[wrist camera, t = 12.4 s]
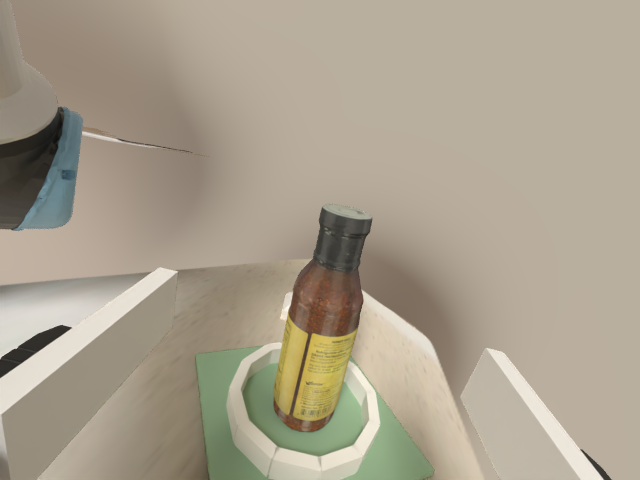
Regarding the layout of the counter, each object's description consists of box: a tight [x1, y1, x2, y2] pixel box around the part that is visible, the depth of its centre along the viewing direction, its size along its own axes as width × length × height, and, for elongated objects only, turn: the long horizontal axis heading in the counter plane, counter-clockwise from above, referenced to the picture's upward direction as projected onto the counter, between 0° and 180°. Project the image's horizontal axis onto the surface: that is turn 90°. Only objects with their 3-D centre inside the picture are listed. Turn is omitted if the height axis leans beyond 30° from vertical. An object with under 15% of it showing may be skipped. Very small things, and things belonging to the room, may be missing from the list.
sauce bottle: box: [273, 204, 372, 432], centre depth 26 cm, size 6×6×20 cm
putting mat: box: [195, 342, 435, 480], centre depth 28 cm, size 18×18×3 cm
